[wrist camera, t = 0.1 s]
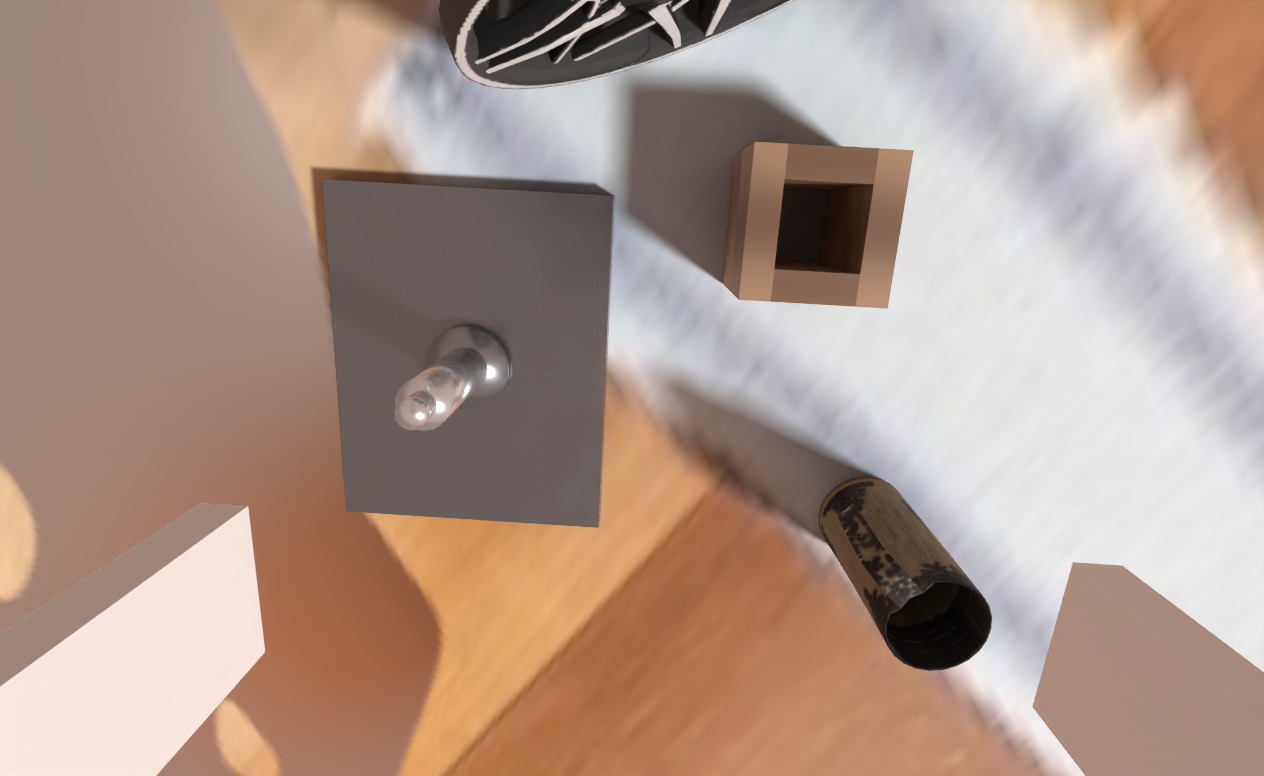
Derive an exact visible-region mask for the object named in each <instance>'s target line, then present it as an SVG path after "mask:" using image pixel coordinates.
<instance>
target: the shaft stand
mask: <svg viewBox="0 0 1264 776" xmlns="http://www.w3.org/2000/svg"><path fill="white" fill-rule="evenodd" d="M322 186H323V199H324V213H325V227H326V240H327V254H328V268H329V281H330V295H331V309H332V322H333V336H334V350H335V363H336V377H337V391H338V404H339V418H340V432H341V445H342V459H343V473H344V486H345V500H346V511H353V512H366V513H382V514H397V515H413V516H428V517H443V518H459V519H474V520H490V521H505V522H521V523H536V524H551V525H567V526H582V527H599V521H600V507H601V485H602V463H603V441H604V419H605V398H606V376H607V354H608V332H609V310H610V288H611V267H612V245H613V223H614V201H615V196H609V195H592V194H574V193H557V192H539V191H521V190H504V189H486V188H469V187H451V186H434V185H416V184H399V183H381V182H364V181H346V180H328V179H322Z"/></svg>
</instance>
